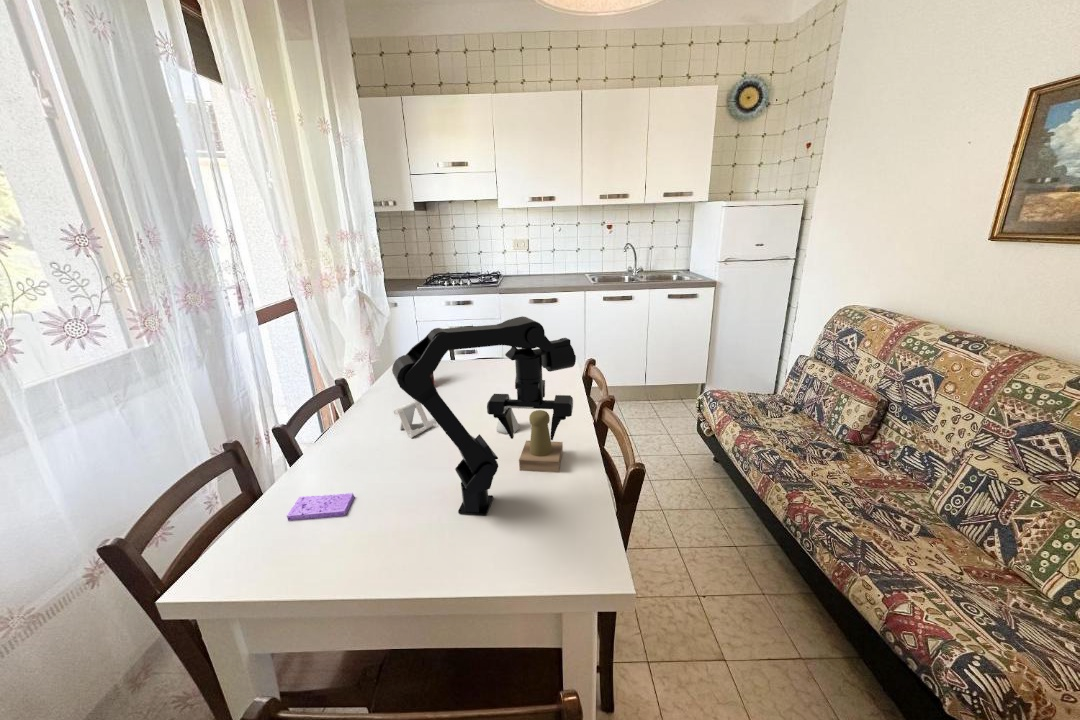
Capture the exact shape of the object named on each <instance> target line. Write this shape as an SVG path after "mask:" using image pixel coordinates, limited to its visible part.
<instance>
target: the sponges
mask: <svg viewBox="0 0 1080 720" xmlns="http://www.w3.org/2000/svg"><path fill="white" fill-rule="evenodd" d="M354 499H355V494H354V493H353V492H350V493H349V492H348V493H337V494H324V495H311V496H310V495H305V496H298V498H297V499H296V501H295V502H294V505H293V506H292V507H291V509H290V510H289V511H288V512H287V514H286V518H287V521H298V520H308V519H310V520H311V519H323V518H335V517H344V516H346V515H347V514H348V511H349V510H350V507H351V504H352V503H353V501H354Z"/></svg>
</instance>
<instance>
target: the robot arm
mask: <svg viewBox="0 0 1080 720" xmlns="http://www.w3.org/2000/svg"><path fill="white" fill-rule="evenodd" d="M495 346H496V347H497V346H507V347H511V348H510V349H509V350H507V352H506V353H505V354H504V356H505V357H507V358H508V359H509V360H511V361H515V363H514V364H515V365H514V366H515V381H514V389H515V390H516V398H517V399H512V398H511V399H509V397H510V395H509V393H493V394H492V395H491V396H490V398H489V400H488V402H487V404H486V409H487V411H486V412H487V414H488V415H492V416H493V418H494V419H498V421H500V422H501V423H502V425H503V426H504V427H505V429H506V431H507V432H508V434H507V435H508V436H509V438H510V439H511V440H513V439H514V436H515V435H514V431H513V424H512V417H511V408H512V409H530V410H531V409H532V410H533V409H534V410H535V409H536V410H537V409H538V410H552V413H553V414H552V417H551V423H550V424H551V427H550V428H551V429H550V440H551V441H553V440H554V437H555V435H556V431H557V429H558V426H559V424H560V422H561V421H564V420H566V418H568V417H569V418H570V417H572V414H573V409H574V398H573V397H572V396H571V395H568V394H567V395H564V394H563V395H561V394H555V396H554V400H553V399H551V400H548V399H547V400H546V399H545V400H544V398H545V396H546V379H545V380H544V379H543V368H544V369H546V371H547V372H549V373H550V372H551V373H552V372H554V371H555V372H556V371H560V370H564V369H570V368H571V369H572V368H573V367H574V366H575V365H576V362H577V361H576V360H577V356H576V354H575V350H574V348H573V346H572V343H571V339H569V338H567V337H561V338H559V339H555V340H550V339H548V337H547V336H546V332H545V329H544V326H543V324H541V323H540V322H538V321H536V320H533V319H531V318H529V317H527V316H523V315H521V316H518V317H513V318H509V319H507V320H504V321H503V322H501V323H497V324H487V325H476V326H461V327H448V328H441V327H436V328H433V329H431V330H430V331H429V332H428V334H427V335H426V336H425V337H424V338H422V339H421V340H420V341H419V342H417V344H414V345H413V346H412V347H411V348H410V349H409V350H408V351H407V353H406V354H404V355H401V356H400V357H398V358H397V359H395V360H394V362H393V364H392V367H391V368H392V369H391V371H392V375H393V376H394V378H395V380H396V382H397V384H398V385H399V388H400V389H401V390H403V392H405V393H406V394H407V395H408V396H409V397H410V398H412V399H413V400H416V401H418V402H419V403H421V406H422V407H423V406H424V407H423V408H425V409H426V410H427V412H428V413H429V414H430V415H431V416H432V418H433V419H434V421H435V422H436V423H437V424H438V425H439V426H440V428H441V429H442V430H443V431H444V433H445V435H447V436H448V437H449V439H450V440H451V441H452V443H453V444H454V445H455V446H456V448H457V449H458V452H459V453H460V455H461V457H462V459H461V461H460V462H459V463H458V465H457V466H456V467H455V468H454V470H455V472H456V474H457V476H458V477H459V478H460V481H461V482H460V488H461V497H462V503H461V505H460V506H459V508H458V511H457V512H458V514H463V515H474V516H475V515H476V516H487V515H488V513H489V510H490V508H491V505H492V502H493V500H494V496H493V495H490V494H489V490H490V489H491V487H492V483H493V480H494V476H495V475H496V473H497V472H498V468H499V463H498V461H497V460H499V457H498V455H496V453H495V452H494V451H493V450H492V448H491V447H490V445H489V444H488V443H487V442H486V440H485V439H484V437H483V436H482V435H481V434H478V435H477V436H476V437H474V436H472V435H471V434H470V433H469V431H467V429H466V428H465V426H464V425H463V424H462V423H461V421H460V420H459V418H457V416H456V415H455V414H454V412H453V411H452V410H451V408H450V406H448V404H447V403H446V402H445V401H444V399H443V398H442V397H441V395H440V394H439V392H438V390H437V387H436V385H434V384H435V382H434V383H433V381H432V379H431V377H430V375H431V374H432V373H433V374H434V372H435V371H436V370H437V368H438V366H439V364H440V363H441V361H442V359H443V358H444V356H445V355H446V354H447V352H448V351H455V350H465V349H474V348H476V349H477V348H484V347H495Z"/></svg>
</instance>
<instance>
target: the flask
mask: <svg viewBox="0 0 1080 720" xmlns="http://www.w3.org/2000/svg"><path fill="white" fill-rule="evenodd" d="M509 399H512V398H511V397H510V396H509ZM511 417H512V424H513V431H514V433H516V432H517V431H519V430H520V424H519V422H518V419H517V418H516V416H515V413H514V412H513V408H511ZM496 433H500V434H504V435H506V434H507V435H509V434H508V432H507V431H506V429H505V427H504V426H503V425H502V423H501V422H500V421H499V420H498V422H497V425H496Z"/></svg>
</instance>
